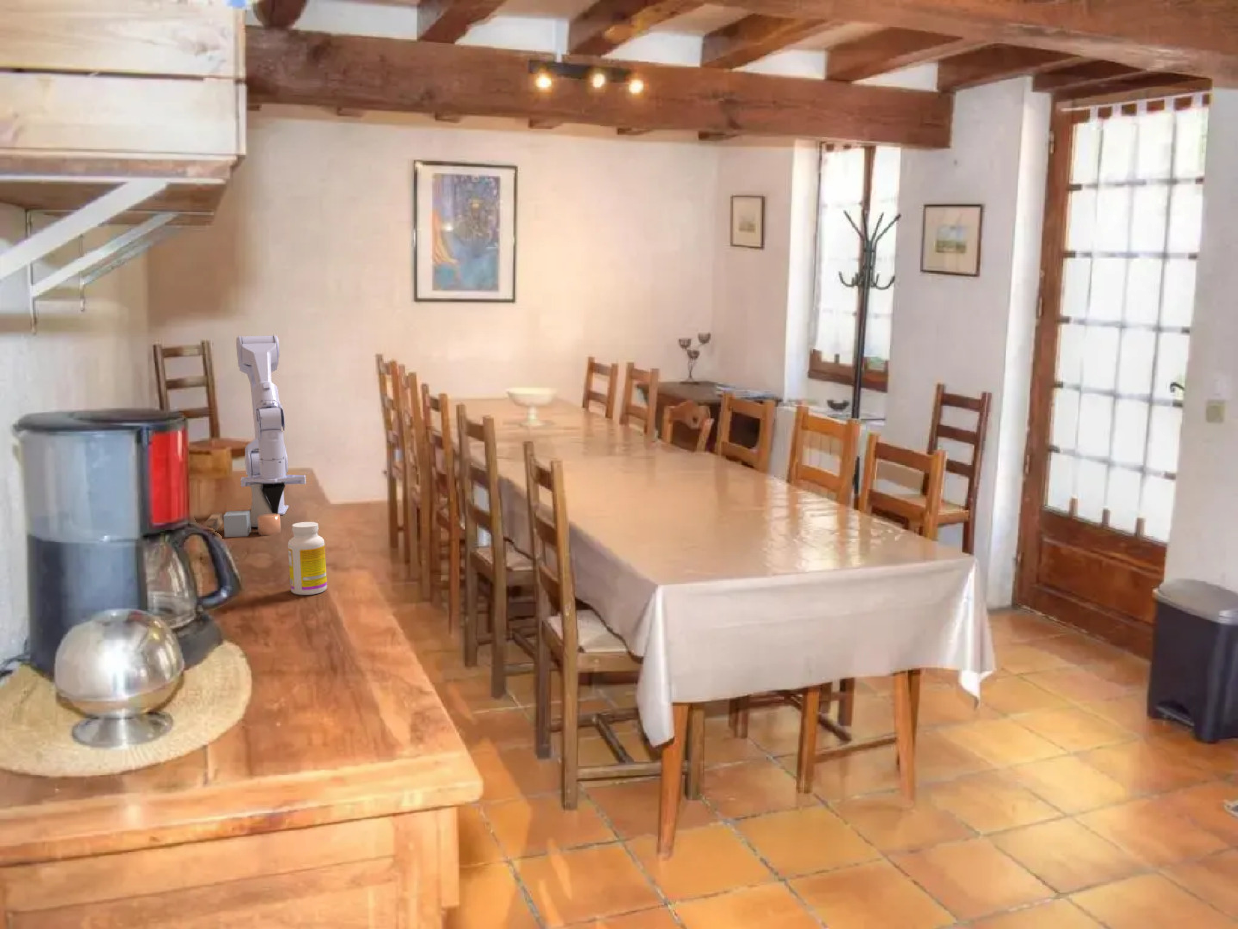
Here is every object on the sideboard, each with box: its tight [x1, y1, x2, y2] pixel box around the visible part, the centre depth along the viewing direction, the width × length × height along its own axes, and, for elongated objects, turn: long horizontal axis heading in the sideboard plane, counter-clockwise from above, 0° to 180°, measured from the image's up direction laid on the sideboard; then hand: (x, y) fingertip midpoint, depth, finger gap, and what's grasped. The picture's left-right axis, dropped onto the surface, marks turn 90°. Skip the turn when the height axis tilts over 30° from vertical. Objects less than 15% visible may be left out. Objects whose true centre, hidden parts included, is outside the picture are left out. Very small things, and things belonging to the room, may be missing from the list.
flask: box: [248, 483, 273, 528], centre depth 265 cm, size 7×7×10 cm
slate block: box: [222, 509, 252, 538], centre depth 258 cm, size 5×5×5 cm
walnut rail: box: [202, 512, 224, 532], centre depth 262 cm, size 14×2×2 cm, turn 9°
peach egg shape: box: [257, 514, 282, 536], centre depth 259 cm, size 5×5×4 cm
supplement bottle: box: [287, 521, 328, 596], centre depth 211 cm, size 7×7×13 cm
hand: (275, 515), depth 266 cm, fingers closed
